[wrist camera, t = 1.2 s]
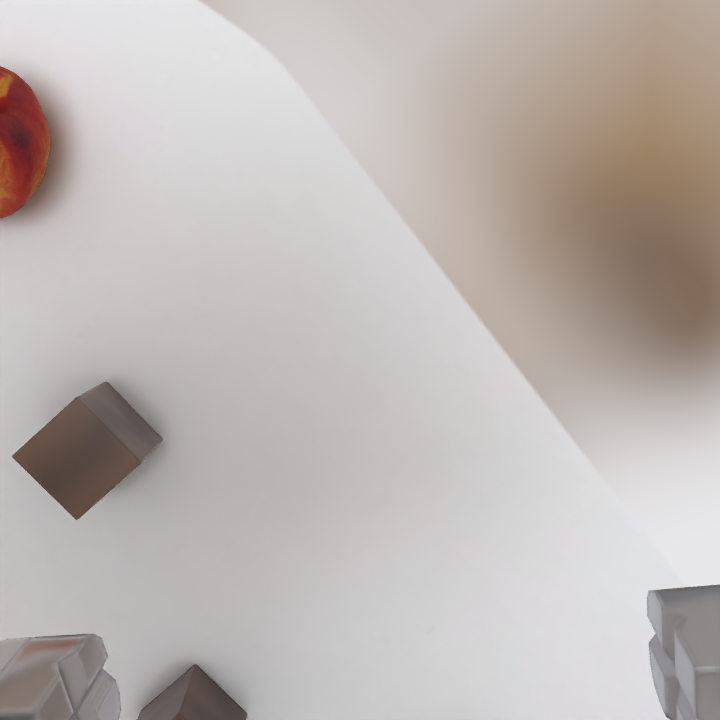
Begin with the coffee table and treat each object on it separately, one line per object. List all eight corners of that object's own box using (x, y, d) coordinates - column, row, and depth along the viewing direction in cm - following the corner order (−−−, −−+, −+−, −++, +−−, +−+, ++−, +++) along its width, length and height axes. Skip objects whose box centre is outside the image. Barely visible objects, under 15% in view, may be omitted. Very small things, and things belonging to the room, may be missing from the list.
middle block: (163, 439, 43) (141, 462, 38) (105, 491, 43) (76, 520, 38) (106, 380, 42) (76, 396, 37) (48, 433, 42) (10, 456, 37)
